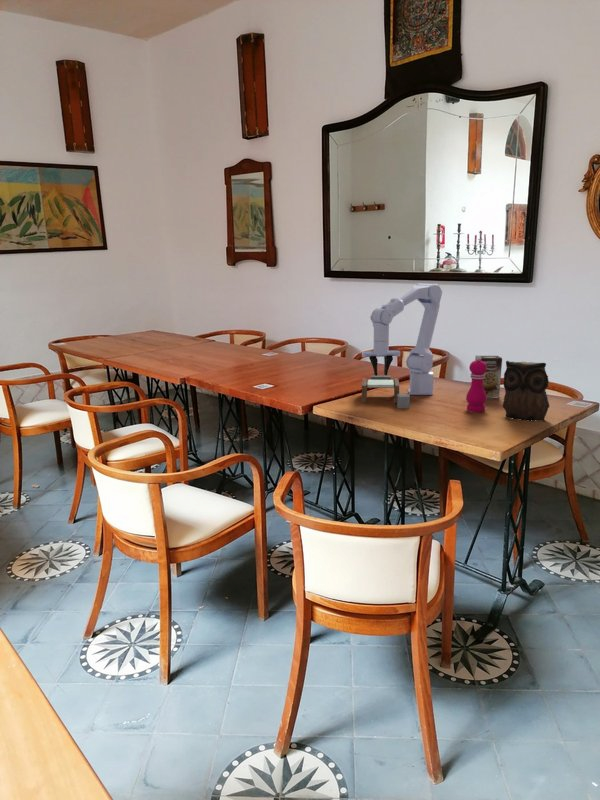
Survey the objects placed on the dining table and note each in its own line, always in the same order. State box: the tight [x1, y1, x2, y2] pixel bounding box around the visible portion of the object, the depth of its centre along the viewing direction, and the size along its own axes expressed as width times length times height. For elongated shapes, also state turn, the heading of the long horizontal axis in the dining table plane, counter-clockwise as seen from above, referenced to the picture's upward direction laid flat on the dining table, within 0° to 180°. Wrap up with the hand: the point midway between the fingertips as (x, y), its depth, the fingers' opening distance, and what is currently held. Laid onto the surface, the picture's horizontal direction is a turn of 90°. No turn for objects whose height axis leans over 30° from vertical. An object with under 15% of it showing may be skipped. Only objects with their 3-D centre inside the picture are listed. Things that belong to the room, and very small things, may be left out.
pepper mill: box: [465, 355, 488, 413], centre depth 207 cm, size 7×7×20 cm
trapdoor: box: [367, 375, 394, 389], centre depth 226 cm, size 10×12×2 cm
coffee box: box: [474, 355, 503, 399], centre depth 225 cm, size 9×6×16 cm
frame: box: [361, 377, 400, 404], centre depth 227 cm, size 14×13×7 cm
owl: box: [502, 360, 550, 422], centre depth 197 cm, size 13×13×20 cm
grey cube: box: [396, 393, 411, 409], centre depth 216 cm, size 4×4×4 cm
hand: (380, 375), depth 222 cm, fingers open, 3 cm apart
